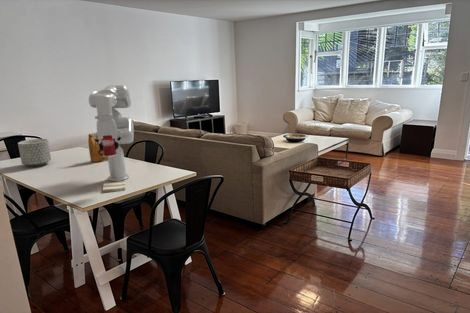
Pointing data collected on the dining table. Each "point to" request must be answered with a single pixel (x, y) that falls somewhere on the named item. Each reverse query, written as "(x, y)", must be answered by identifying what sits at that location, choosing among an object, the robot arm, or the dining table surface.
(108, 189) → the birch board
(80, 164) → the dining table surface
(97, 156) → the coffee package
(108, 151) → the soda can
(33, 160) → the planter
